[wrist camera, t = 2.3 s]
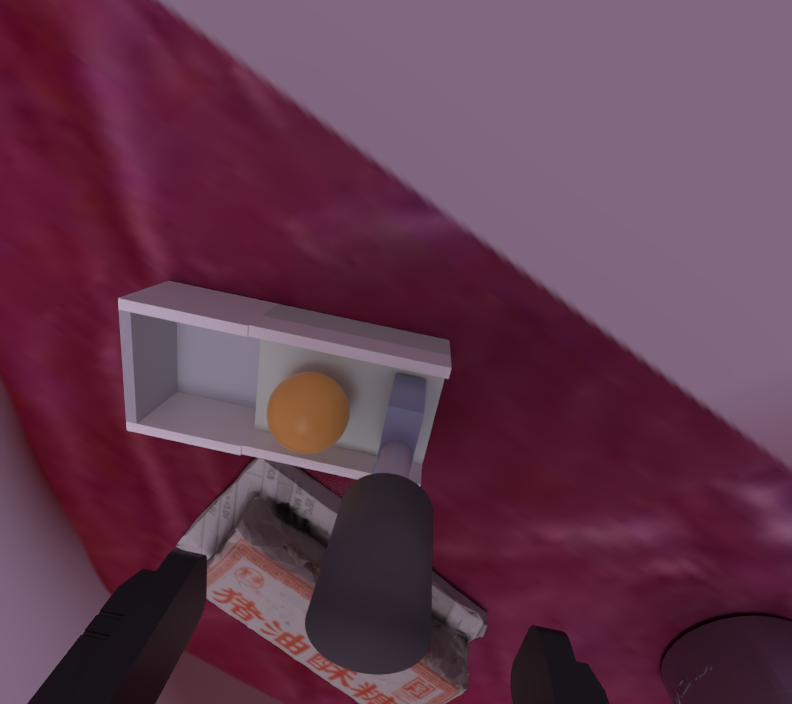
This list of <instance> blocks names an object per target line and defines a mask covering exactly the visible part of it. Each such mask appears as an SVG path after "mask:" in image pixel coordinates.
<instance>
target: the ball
mask: <svg viewBox="0 0 792 704" xmlns="http://www.w3.org/2000/svg"><path fill="white" fill-rule="evenodd" d="M349 415H350V408H349V402H348V399H347V396H346V394H345V392H344V390H343V389H342V387H341V386H340V385H339V384H338V383H337V382H336V381H335V380H334V379H332V378H331V377H329V376H327V375H324V374H322V373H318V372H301V373H297V374H294V375H292V376H290V377H288V378H286V379H285V380H283V381H282V382H281V383H280V384H279V385H278V386H277V387H276V388H275V390H274V391H273V393H272V394H271V396H270V399H269V402H268V405H267V423H268V427H269V429H270V431H271V433H272V435H273V437H274V438H275V439H276V440H277V441H278V443H280V444H281V445H282V446H283V447H285V448H286V449H288V450H290V451H293V452H296V453H301V454H313V453H318V452H321V451H323V450H326V449H328V448H329V447H331V446H332V445H334V444H335V443H336V442H337V441H338V440H339V439H340V437H341V436H342V435H343V433H344V432H345V430H346V427H347V425H348V421H349Z"/></svg>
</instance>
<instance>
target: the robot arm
mask: <svg viewBox="0 0 792 704" xmlns="http://www.w3.org/2000/svg"><path fill="white" fill-rule="evenodd" d="M206 596H207V556H206V555H204V554H199V553H194V552H190V551H185V550H180V549H174V550H172V551H171V552H170V553H169V554H168V556H167V557H166V558H165V560H164V561H163V563H162V564H161V565H160V567H159V568H158V570H157V571H152V570H147V569H142V570H140V571H139V572H138V573H136V574H135V575H134V576H132V577H131V578H130V579H128V580H127V581H126V582H124V583H123V584H122V585H120V586H119V587H118V588H117V589H116V591H115V592H114V593H113V595H112V596H111V597H110V598H109V600H108V601H107V602H106V604H105V605H104V606H103V607H102V609H101V611H100V613H99V614H98V615H96V616H95V618H94V619H93V620H92V622H91V623H90V624H89V625H88V627H87V628H86V629H85V632H84V634H83V635H81V636H80V637H79V638H78V639H77V641H76V642H75V643H74V645H73V646H72V647H71V649H70V650H69V651H68V652H67V654H66V655H65V656H64V657H63V659H62V660H61V661H60V663H59V664H58V665H57V666H56V668H55V669H54V670H53V672H52V673H51V674H50V675H49V677H48V678H47V679H46V681H45V682H44V683H43V684H42V686H41V687H40V688H39V690H38V691H37V692H36V693H35V695H34V696H33V697H32V699H31V700H30V701H29V703H28V704H155V703H156V701H157V699H158V697H159V696H160V694H161V692H162V690H163V688H164V686H165V684H166V682H167V681H168V679H169V677H170V675H171V673H172V671H173V669H174V668H175V666H176V664H177V662H178V660H179V658H180V656H181V654H182V653H183V651H184V649H185V647H186V645H187V643H188V641H189V639H190V638H191V636H192V634H193V632H194V630H195V628H196V626H197V624H198V622H199V620H200V618H201V615H202V612H203V609H204V606H205V602H206ZM661 675H662V680H663V683H664V685H665V687H666V689H667V692H668V694H669V696H670V698H671V700H672V703H673V704H792V622H791V621H788V620H784V619H779V618H775V617H767V616H738V617H731V618H726V619H721V620H717V621H714V622H711V623H708V624H705V625H702V626H700V627H698V628H696V629H694V630H692V631H690V632H688V633H687V634H685V635H684V636H683V637H681V638H680V639H679V640H677V641H676V642H675V643H674V644H673V645H672V647H671V648H670V649H669V650H668V651H667V653H666V655H665V657H664V659H663V661H662V667H661ZM511 694H512V701H513V704H609V701H608V699H607V696H606V693H605V690H604V689H603V687H602V686H601V684H600V682H599V681H598V679H597V678H596V676H595V675H594V673H593V671H592V670H591V668H590V667H589V665H588V664H586V663H581V662H576V660H575V657H574V653H573V650H572V647H571V643H570V640H569V638H568V636H567V635H566V633H565V632H563V631H559V630H554V629H549V628H544V627H540V626H535V625H532V626H531V627H530V628H529V630H528V632H527V634H526V636H525V639H524V641H523V643H522V645H521V647H520V649H519V651H518V653H517V655H516V658H515V660H514V662H513V665H512V670H511Z"/></svg>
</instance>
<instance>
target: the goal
mask: <svg viewBox="0 0 792 704" xmlns="http://www.w3.org/2000/svg"><path fill="white" fill-rule="evenodd" d="M276 305H277V303H272V302H267V301H263V300H258V299H253V298H249V297H244V296H239V295H234V294H230V293H225V292H220V291H215V290H211V289H206V288H201V287H197V286H192V285H187V284H182V283H178V282H173V281H166V282H163V283H161V284H158V285H155V286H152V287H149V288H146V289H143V290H140V291H137V292H134V293H131V294H129V295H126V296H123V297H120V298H118V306H119V321H120V336H121V351H122V366H123V381H124V396H125V411H126V426H127V431H132V432H136V433H141V434H145V435H150V436H155V437H159V438H164V439H168V440H173V441H177V442H182V443H186V444H191V445H196V446H200V447H205V448H209V449H214V450H218V451H223V452H228V453H232V454H237V455H241V452H242V445H243V443H244V442H245V441H246V439H247V438H248V437H249V435H250V434H251V433H252V431H253V430H254V425H255V411H256V397H257V382H258V368H259V354H260V339H259V338H254V337H249V336H248V331H249V325H250V324H251V323H252V322H254V321H255V320H257V319H258V318H259V317H261V316H262V315H263V314H265V313H266V312H268V311H269V310H270V309H272V308H273V307H275V306H276Z"/></svg>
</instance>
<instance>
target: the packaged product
mask: <svg viewBox="0 0 792 704" xmlns="http://www.w3.org/2000/svg"><path fill="white" fill-rule="evenodd" d="M341 501H342V499H341V498H340V497H338V496H337V495H336V494H334V493H333V492H332V491H330V490H329V489H327V488H326V487H325V486H323V485H322V484H321V483H319V482H318V481H316V480H315V479H314V478H312V477H311V476H310V475H308V474H307V473H305V472H304V471H303V470H301V469H300V468H299V467H297V466H294V465H289V464H284V463H280V462H275V461H271V460H266V459H262V458H256V459H254V460H253V461H252V462H251V463H250V464H249V465H248V466H247V467H246V468H245V470H244V471H243V472H242V473H241V474H240V476H239V477H238V478H237V479H236V481H235V482H234V483H233V484H232V485H231V486H229V487H228V488H227V489H226V490H225V491H224V492H223V493H222V494H221V495H220V496H219V497H218V498H217V499H216V500H215V501H214V502H213V503H212V504H211V505H210V506H209V507H208V508H207V509H206V510H205V511H204V512H203V513H202V514H201V515H200V516H199V517H198V518H197V519H196V520H195V522H194V523H193V524H192V526H191V527H190V528H189V530H188V531H187V532H186V534H185V535H184V536H183V537H182V539H181V540H180V541H179V542H178V544H177V545H176V547H178V548H180V549H182V550H185V551H190V552H194V553H199V554H204V555H206V556H207V596H206V598H207V599H208V600H209V601H210V602H212V603H214V604H215V605H217V606H218V607H219V608H220V609H222V610H223V611H225V612H226V613H228V614H229V615H231V616H232V617H234V618H236V619H237V620H239V621H241V622H242V623H244V624H246V626H247V627H248V628H250V629H253V630H254V631H255V632H257V633H258V634H259V635H261V636H262V637H264V638H265V639H266V640H268V641H270V642H271V643H273V644H274V645H276V646H278V647H279V648H280V649H281V650H283V651H284V652H286V653H287V654H289V655H290V656H291V657H293V658H294V659H295V660H297V661H299V662H300V663H302V664H304V665H305V666H307V667H308V668H310V669H311V670H312V671H313V672H314V673H316V674H317V675H319V676H320V677H322V678H323V679H325V680H326V681H328V682H330V683H331V684H332V685H333V686H335V687H337V688H338V689H340V690H341V691H343V692H344V693H346V694H347V695H349V696H350V697H352V698H353V699H354V700H355V701H356V702H358V703H360V704H446V703H447V702H449V701H450V700H452V699H454V698H456V697H457V696H459V695H461V694H463V692H464V691H466V690H468V678H469V675H470V672H469V671H468V669H467V661H468V656H469V646H468V643H469V642H471V641H472V640H474V639H476V638H478V637H483V636H484V633H485V631H486V628H487V614H486V612H485V611H484V610H482V609H481V608H480V607H478V606H477V605H476V604H474V603H473V602H472V601H470V600H469V599H468V598H467V597H465V596H464V595H463V594H461V593H460V592H459V591H457V590H456V589H454V588H453V587H452V586H451V585H450V584H448V583H447V582H446V581H445V580H444V579H442V578H441V577H440V576H439V575H438V574H436V573H435V572H434V571H433V570H432V611H431V643H430V647H429V649H428V652H427V653H426V655H425V656H424V658H423V659H422V660H421V661H420V662H418V663H417V664H416V665H414V666H412V667H410V668H409V669H406V670H404V671H401V672H397V673H392V674H383V675H372V674H364V673H358V672H354V671H351V670H348V669H345V668H342V667H340V666H338V665H336V664H334V663H332V662H331V661H329V660H328V659H326V658H325V657H324V656H322V655H321V654H320V653H319V652H318V651H317V650H316V649H315V648H314V646H313V645H312V644H311V642H310V640H309V638H308V636H307V633H306V630H305V618H306V614H307V610H308V607H309V604H310V601H311V598H312V594H313V591H314V588H315V585H316V582H317V578H318V575H319V572H320V569H321V565H322V562H323V559H324V556H325V553H326V549H327V546H328V543H329V540H330V537H331V533H332V530H333V527H334V524H335V520H336V517H337V514H338V511H339V508H340V504H341Z"/></svg>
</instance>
